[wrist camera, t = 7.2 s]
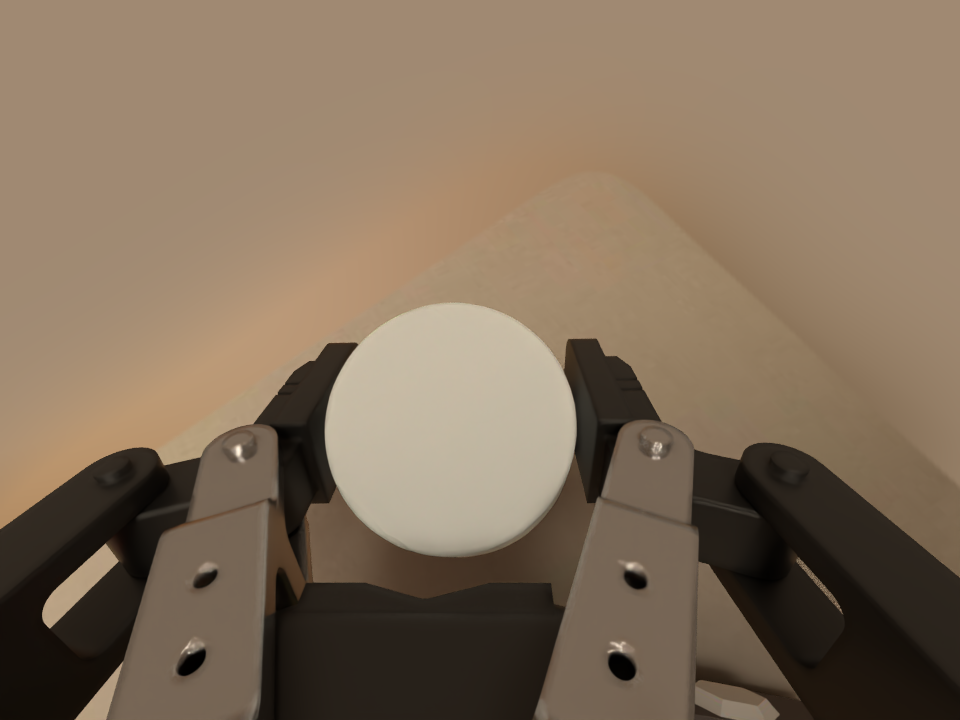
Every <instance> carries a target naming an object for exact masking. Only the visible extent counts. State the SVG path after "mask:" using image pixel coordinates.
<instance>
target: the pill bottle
mask: <svg viewBox="0 0 960 720" xmlns="http://www.w3.org/2000/svg"><path fill="white" fill-rule="evenodd" d="M576 437H577V420H576V410H575V403H574V399H573V395H572V392H571V388H570V386H569V383H568V381H567V378H566V376H565V374H564V371H563V369H562V367H561V365H560V364H559V362H558V360H557V359H556V357H555V355H554V354H553V353H552V351H551V350H550V349H549V347H548V346H547V345H546V344H545V343H544V342H543V341H542V340H541V339H540V338H539V337H538V336H537V335H536V334H535V333H534V332H533V331H531V330H530V329H529V328H527V327H526V326H525V325H523V324H522V323H520V322H519V321H517V320H516V319H514V318H512V317H510V316H508V315H506V314H504V313H502V312H499V311H497V310H494V309H491V308H488V307H484V306H480V305H475V304H468V303H439V304H432V305H427V306H423V307H419V308H416V309H413V310H410V311H407V312H405V313H402V314H400V315H398V316H396V317H394V318H392V319H391V320H389V321H387V322H386V323H384V324H382V325H381V326H379V327H378V328H377V329H375V330H374V331H373V332H371V333H370V334H369V335H368V336H367V337H366V338H365V339H364V340H363V341H362V342H361V343H360V344H359V345H358V346H357V347H356V349H355V350H354V351H353V352H352V354H351V355H350V356H349V358H348V359H347V361H346V362H345V364H344V366H343V367H342V369H341V371H340V373H339V375H338V377H337V379H336V381H335V383H334V386H333V388H332V391H331V394H330V397H329V402H328V406H327V411H326V419H325V445H326V453H327V458H328V462H329V467H330V470H331V473H332V476H333V479H334V481H335V483H336V486H337V488H338V490H339V492H340V494H341V496H342V497H343V499H344V500H345V502H346V503H347V504H348V506H349V507H350V509H351V510H352V511H353V513H354V514H355V515H356V516H357V517H358V518H359V519H360V520H361V521H362V522H363V523H364V524H365V525H366V526H367V527H368V528H369V529H371V530H372V531H373V532H375V533H376V534H377V535H379V536H380V537H382V538H384V539H385V540H387V541H389V542H390V543H392V544H394V545H396V546H398V547H401V548H403V549H406V550H409V551H412V552H416V553H420V554H424V555H429V556H438V557H454V558H456V557H470V556H478V555H482V554H487V553H490V552H494V551H497V550H499V549H502V548H504V547H507V546H508V545H510V544H512V543H514V542H516V541H518V540H519V539H521V538H522V537H524V536H525V535H527V534H528V533H529V532H530V531H531V530H532V529H533V528H534V527H535V526H536V525H538V524H539V523H540V522H541V520H542V519H543V518H544V517H545V516H546V515H547V513H548V512H549V511H550V509H551V508H552V507H553V505H554V504H555V502H556V500H557V499H558V497H559V496H560V493H561V491H562V489H563V486H564V484H565V481H566V478H567V475H568V472H569V470H570V467H571V464H572V460H573V456H574V450H575V444H576Z"/></svg>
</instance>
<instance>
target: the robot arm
mask: <svg viewBox="0 0 960 720" xmlns="http://www.w3.org/2000/svg"><path fill="white" fill-rule="evenodd" d="M357 346H358V344H357V343H329V344H327V345H326V347H325V348H324V349H323V351H322V352H321V354H320V355H319V356H318V358H317V359H316V361H309V362H307V363H306V364H304V365H303V366H301V367H300V368H298V369H297V370H295V371H294V372H293V374H292V375H291V376H290V377H289V379H288V380H287V381H286V383H285V385H283V386H282V388H281V389H280V390H279V392H278V395H275V397H274V398H273V399H272V401H271V402H270V403H269V404H268V406H267V407H266V408H265V410H264V411H263V412H262V413H261V415H260V416H259V417H258V419H257V420H256V421H255V422H254V424H252V425H246V426H241V427H238V428H235V429H232V430H230V431H228V432H226V433H224V434H222V435H220V436H219V437H217V438H216V439H214V440H213V441H212V442H211V443H210V444H209V445H208V446H207V447H206V448H205V450H204V451H203V454H202V456H201V457H200V458H196V459H191V460H187V461H182V462H178V463H173V464H169V465H163V463H162V461H161V459H160V457H159V456H158V454H157V452H156V451H155V450H152V449H149V448H132V449H127V450H123V451H119V452H116V453H113V454H111V455H108V456H106V457H104V458H102V459H100V460H98V461H96V462H94V463H93V464H91V465H89V466H88V467H86V468H85V469H84V470H82V471H81V472H79V473H78V474H77V475H75V476H74V477H72V478H71V479H70V480H68V481H67V482H66V483H64V484H63V485H62V486H60V487H59V488H57V489H56V490H54V491H53V492H52V493H50V494H49V495H47V496H46V497H45V498H43V499H42V500H41V501H39V502H38V503H36V504H35V505H34V506H32V507H31V508H29V509H28V510H27V511H25V512H24V513H23V514H21V515H20V516H18V517H17V518H16V519H14V520H13V521H12V522H10V523H9V524H7V525H6V526H5V527H3V528H2V529H0V720H75V719H76V717H77V716H78V715H79V714H80V713H81V711H82V710H83V709H84V708H85V707H86V705H87V704H88V703H89V702H90V700H91V699H92V698H93V697H94V696H95V694H96V693H97V692H98V691H99V690H100V688H101V687H102V686H103V685H104V684H105V682H106V681H107V680H108V679H109V678H110V676H111V675H112V674H113V673H114V671H115V670H116V669H117V668H118V667H119V665H120V664H121V663H122V662H123V665H122V668H121V671H120V675H119V678H118V682H117V685H116V689H115V692H114V695H113V699H112V702H111V706H110V709H109V712H108V716H107V719H106V720H694V718H695V675H696V633H697V591H698V561H699V562H702V563H706V564H709V565H710V567H711V568H712V570H713V572H714V573H715V574H716V576H717V577H718V579H719V580H720V582H721V583H722V585H723V586H724V588H725V589H726V591H727V592H728V594H729V595H730V597H731V598H732V600H733V601H734V602H735V604H736V605H737V607H738V608H739V610H740V611H741V613H742V614H743V616H744V617H745V619H746V620H747V622H748V623H749V625H750V626H751V627H752V629H753V630H754V632H755V633H756V635H757V636H758V638H759V639H760V641H761V642H762V644H763V645H764V647H765V648H766V650H767V651H768V653H769V654H770V655H771V657H772V658H773V660H774V661H775V663H776V664H777V666H778V667H779V669H780V670H781V672H782V673H783V675H784V676H785V678H786V679H787V681H788V682H789V683H790V685H791V686H792V688H793V689H794V691H795V692H796V694H797V695H798V697H799V698H800V700H801V701H802V703H803V704H804V706H805V707H806V709H807V710H808V711H809V713H810V714H811V716H812V717H813V719H814V720H960V578H959V577H958V576H957V575H956V574H954V573H953V572H952V571H951V570H950V569H948V568H947V567H946V566H945V565H943V564H942V563H941V562H940V561H939V560H937V559H936V558H935V557H934V556H933V555H931V554H930V553H929V552H928V551H927V550H925V549H924V548H923V547H922V546H921V545H919V544H918V543H917V542H916V541H914V540H913V539H912V538H911V537H910V536H908V535H907V534H906V533H905V532H904V531H902V530H901V529H900V528H899V527H898V526H896V525H895V524H894V523H893V522H892V521H890V520H889V519H888V518H887V517H885V516H884V515H883V514H882V513H881V512H879V511H878V510H877V509H876V508H875V507H873V506H872V505H871V504H870V503H869V502H867V501H866V500H865V499H864V498H863V497H861V496H860V495H859V494H858V493H856V492H855V491H854V490H853V489H852V488H850V487H849V486H848V485H847V484H846V483H844V482H843V481H842V480H841V479H840V478H838V477H837V476H836V475H835V474H833V473H832V472H831V471H830V470H829V469H827V468H826V467H825V466H824V465H823V464H821V463H820V462H819V461H817V460H816V459H814V458H813V457H811V456H810V455H808V454H806V453H804V452H802V451H799V450H797V449H794V448H791V447H788V446H785V445H781V444H775V443H757V444H753V445H751V446H749V447H747V448H746V449H745V450H744V452H743V454H742V457H741V460H736V459H731V458H727V457H722V456H717V455H712V454H708V453H704V452H700V451H697V450H695V449H694V447H693V444H692V442H691V440H690V439H689V438H688V437H687V436H686V435H685V434H684V433H683V432H682V431H680V430H679V429H677V428H675V427H673V426H671V425H669V424H666V423H663V422H661V420H660V418H659V416H658V415H657V413H656V411H655V409H654V407H653V406H652V404H651V402H650V400H649V399H648V397H647V395H646V393H645V391H644V390H642V386H641V384H640V382H639V381H638V380H637V377H636V375H635V374H634V372H633V370H632V368H631V366H629V365H628V364H627V363H625V362H624V361H623V360H621V359H620V358H618V357H617V356H605V355H604V353H603V351H602V349H601V347H600V345H599V342H598V340H597V339H568V341H567V345H566V356H565V368H564V374H565V376H566V378H567V381H568V383H569V386H570V388H571V392H572V395H573V399H574V403H575V410H576V420H577V437H576V444H575V450H574V451H575V455H576V459H577V463H578V467H579V471H580V475H581V479H582V483H583V487H584V491H585V495H586V499H587V503H596V504H595V508H594V511H593V515H592V518H591V522H590V525H589V528H588V532H587V535H586V539H585V542H584V546H583V549H582V553H581V556H580V560H579V563H578V567H577V570H576V574H575V577H574V581H573V584H572V588H571V591H570V595H569V598H568V601H567V605H566V607H563V606H559V605H556V604H554V603H553V595H552V588H551V583H488V584H484V585H480V586H477V587H473V588H469V589H465V590H461V591H457V592H453V593H449V594H445V595H441V596H437V597H434V598H429V599H421V598H417V597H413V596H410V595H406V594H403V593H399V592H396V591H392V590H389V589H385V588H382V587H378V586H375V585H371V584H367V583H313V575H312V561H311V547H310V533H309V523H308V519H307V517H306V512H307V510H308V508H309V506H310V504H311V503H329V502H330V500H331V498H332V495H333V493H334V491H335V488H336V483H335V481H334V479H333V476H332V473H331V470H330V467H329V462H328V458H327V453H326V445H325V419H326V411H327V406H328V402H329V397H330V394H331V391H332V388H333V386H334V383H335V381H336V379H337V377H338V375H339V373H340V371H341V369H342V367H343V366H344V364H345V362H346V361H347V359H348V358H349V356H350V355H351V354H352V352H353V351H354V350H355V349H356V347H357ZM105 543H106V544H107V546H108V547H109V548H110V550H111V551H112V552H113V554H114V555H115V556H116V558H117V559H118V560H119V562H118V563H117V564H116V565H115V566H114V567H113V568H112V569H111V570H110V571H109V572H108V573H107V574H106V575H105V576H103V577H102V578H101V579H100V580H99V581H98V582H97V583H96V584H95V585H94V586H93V587H92V588H91V589H90V590H89V591H88V592H87V593H86V594H85V595H84V596H83V597H82V598H81V599H80V600H79V601H78V602H77V603H76V604H75V605H74V606H73V607H72V608H71V609H70V610H69V611H68V612H67V613H66V614H65V615H64V616H63V617H62V618H61V619H60V620H59V621H58V622H56V623H55V624H54V625H53V626H52V627H51V628H50V629H49V628H48V627H47V626H46V625H45V623H44V622H43V619H42V611H43V607H44V605H45V603H46V601H47V599H48V598H49V596H50V595H51V594H52V592H53V591H54V590H55V589H56V588H57V587H58V586H59V585H60V584H61V583H63V582H64V581H65V580H66V579H67V578H68V577H69V576H70V575H71V574H72V573H73V572H75V571H76V570H77V569H78V568H79V567H80V566H81V565H82V564H83V563H84V562H86V561H87V560H88V559H89V558H90V557H91V556H92V555H93V554H94V553H95V552H96V551H98V550H99V549H100V548H101V547H102V546H103V545H104V544H105ZM798 557H799V558H800V559H801V560H802V561H803V562H804V563H805V564H806V565H807V567H808V568H809V569H810V570H811V571H812V572H813V573H814V574H815V575H816V577H817V578H818V579H819V580H820V581H821V582H822V583H823V584H824V585H825V587H826V588H827V589H828V590H829V591H830V592H831V593H832V595H833V596H834V597H835V599H836V600H837V602H838V604H839V605H840V607H841V610H842V612H843V614H842V613H841V612H840V611H839V610H838V609H837V608H836V606H835V605H834V604H833V603H832V602H831V601H830V600H829V598H828V597H827V596H826V595H825V594H824V593H823V592H822V591H821V589H820V588H819V587H818V586H817V585H816V584H815V583H814V581H813V580H812V579H811V578H810V577H809V576H808V575H807V574H806V572H805V571H804V570H803V569H802V568H801V567H800V566H799V564H798V563H797V562H796V560H797V558H798Z"/></svg>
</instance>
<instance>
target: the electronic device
mask: <svg viewBox="0 0 960 720" xmlns="http://www.w3.org/2000/svg"><path fill="white" fill-rule="evenodd" d="M694 720H814V719H813V717H812V716H811V714H810V713H809V711H808V710H807V709H806V707H805V706H804V704H803V703H802V701H800V700H795V699H789V698H784V697H779V696H774V695H769V694H763V693H758V692H753V691H749V690H747V689H744V688H741V687H735V686H730V685H725V684H720V683H714V682H709V681H704V680H699V681H696V680H695V718H694Z"/></svg>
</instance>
